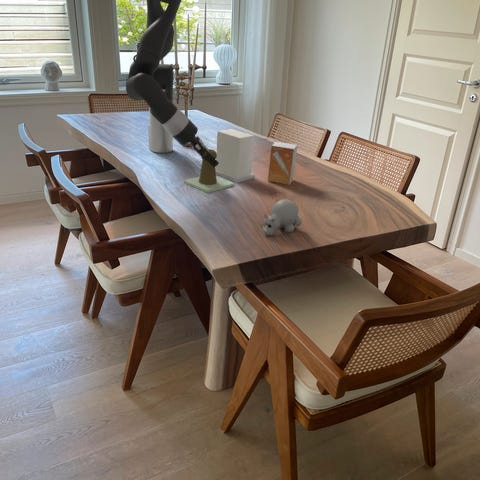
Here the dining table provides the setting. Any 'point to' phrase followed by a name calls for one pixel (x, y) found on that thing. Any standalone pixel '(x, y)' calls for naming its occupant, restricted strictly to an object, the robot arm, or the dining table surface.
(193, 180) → the plate
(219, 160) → the housing
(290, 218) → the round bodied animal figurine
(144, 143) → the dining table surface
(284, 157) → the small box
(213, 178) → the cork
